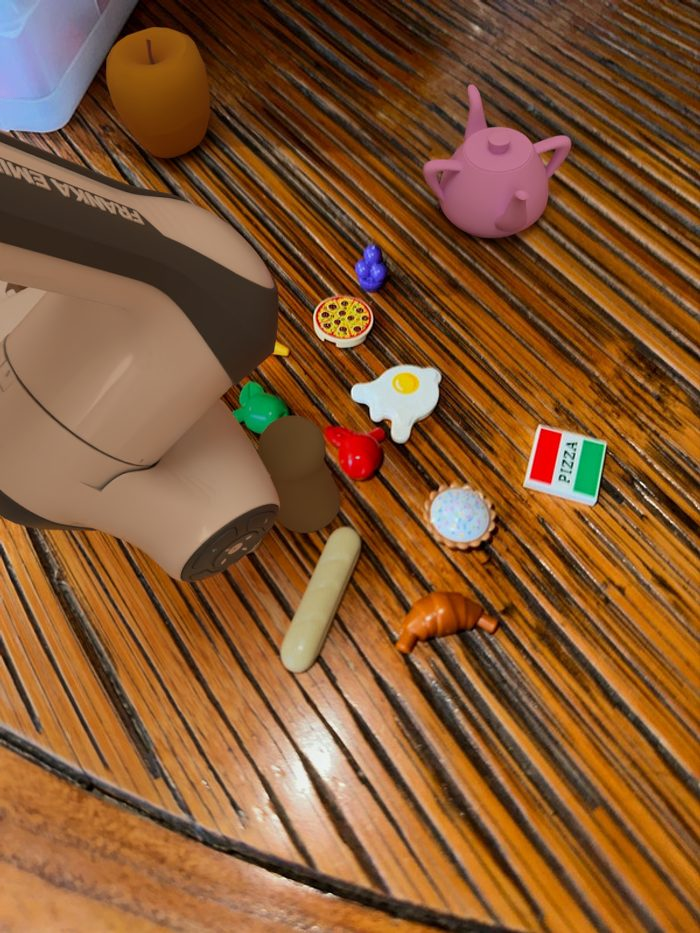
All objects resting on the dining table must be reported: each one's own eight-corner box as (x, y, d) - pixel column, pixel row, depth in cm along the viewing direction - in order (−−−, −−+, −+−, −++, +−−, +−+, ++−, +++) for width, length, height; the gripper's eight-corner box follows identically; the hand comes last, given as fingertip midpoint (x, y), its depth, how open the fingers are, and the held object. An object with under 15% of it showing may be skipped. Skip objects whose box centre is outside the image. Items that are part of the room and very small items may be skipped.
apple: (187, 188, 87) (154, 85, 76) (114, 161, 90) (71, 57, 79) (240, 130, 91) (216, 24, 80) (168, 106, 94) (136, 0, 83)
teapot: (515, 266, 78) (526, 198, 70) (404, 213, 83) (403, 144, 75) (574, 197, 82) (591, 126, 74) (465, 150, 87) (470, 78, 79)
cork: (307, 546, 64) (289, 487, 55) (257, 504, 67) (232, 440, 57) (355, 498, 66) (345, 432, 57) (305, 458, 69) (288, 389, 59)
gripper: (245, 265, 50) (153, 154, 56) (-46, 419, 46) (-112, 282, 52) (261, 326, 56) (176, 219, 62) (3, 469, 51) (-61, 340, 58)
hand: (43, 249), depth 57 cm, fingers closed on supplement box, 4 cm apart
